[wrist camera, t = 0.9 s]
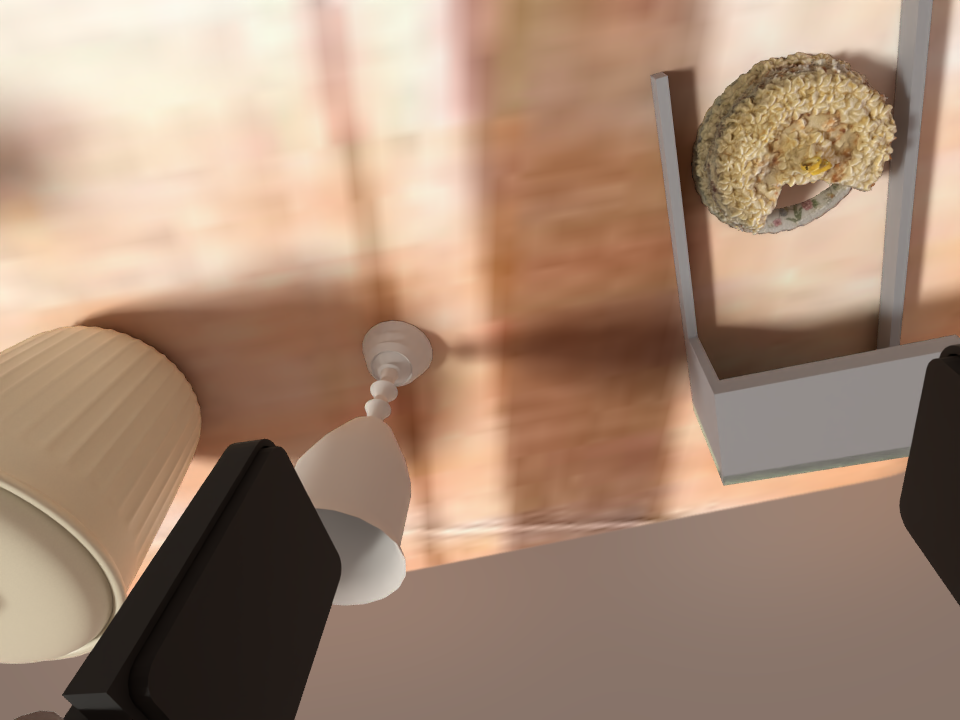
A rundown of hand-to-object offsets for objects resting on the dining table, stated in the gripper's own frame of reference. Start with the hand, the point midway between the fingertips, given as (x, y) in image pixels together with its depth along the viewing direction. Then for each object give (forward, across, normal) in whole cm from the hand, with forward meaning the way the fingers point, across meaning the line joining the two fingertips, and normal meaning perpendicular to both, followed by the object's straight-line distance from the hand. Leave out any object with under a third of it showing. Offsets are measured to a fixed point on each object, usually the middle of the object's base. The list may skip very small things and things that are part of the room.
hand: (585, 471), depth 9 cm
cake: (+29, -13, +4) cm, 32 cm away
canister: (+28, +35, +13) cm, 47 cm away
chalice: (+29, +13, +13) cm, 34 cm away
